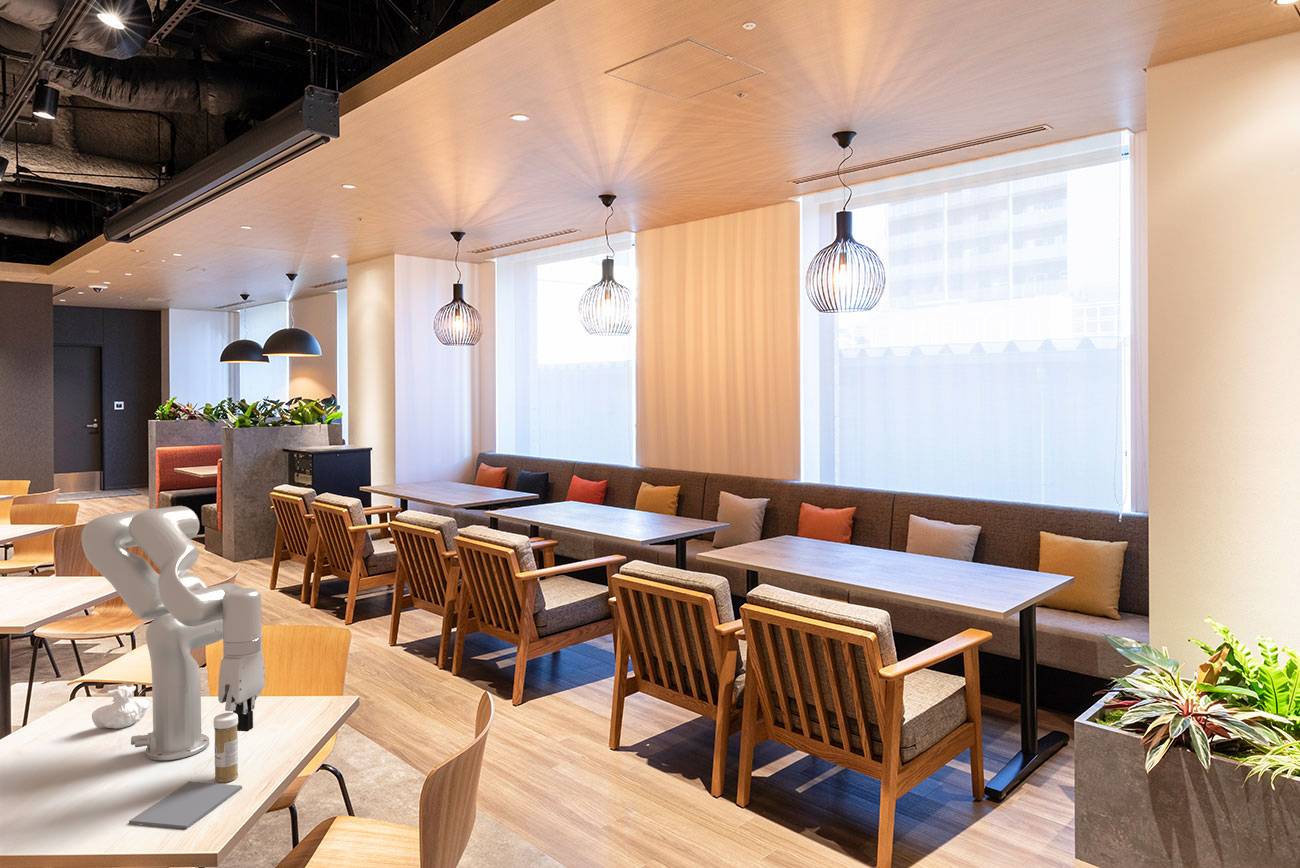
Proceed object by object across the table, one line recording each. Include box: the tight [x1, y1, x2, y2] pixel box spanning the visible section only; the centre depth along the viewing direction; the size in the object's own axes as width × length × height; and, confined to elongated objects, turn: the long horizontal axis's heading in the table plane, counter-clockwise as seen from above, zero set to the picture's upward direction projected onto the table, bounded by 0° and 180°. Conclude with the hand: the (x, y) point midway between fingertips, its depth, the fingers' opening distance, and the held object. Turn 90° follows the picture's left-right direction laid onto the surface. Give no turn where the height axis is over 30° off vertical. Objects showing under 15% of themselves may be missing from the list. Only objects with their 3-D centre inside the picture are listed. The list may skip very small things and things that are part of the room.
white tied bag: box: [91, 684, 150, 730], centre depth 198 cm, size 12×8×11 cm
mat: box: [128, 780, 243, 830], centre depth 160 cm, size 16×12×1 cm
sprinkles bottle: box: [213, 712, 239, 784], centre depth 171 cm, size 5×5×14 cm
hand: (244, 729), depth 177 cm, fingers closed
